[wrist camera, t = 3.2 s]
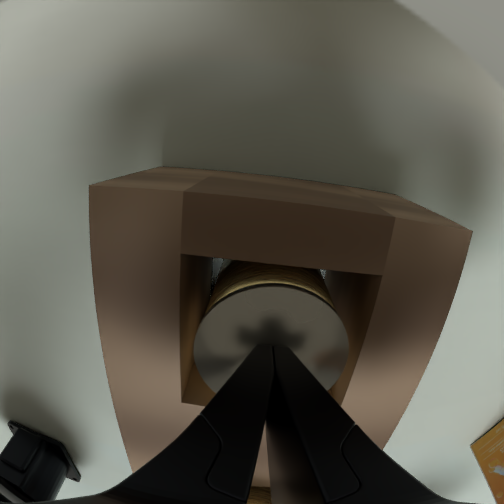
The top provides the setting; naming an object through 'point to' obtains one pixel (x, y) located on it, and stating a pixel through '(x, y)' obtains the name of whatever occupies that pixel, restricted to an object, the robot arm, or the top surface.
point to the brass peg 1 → (270, 321)
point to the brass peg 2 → (259, 495)
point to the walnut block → (264, 251)
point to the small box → (492, 459)
